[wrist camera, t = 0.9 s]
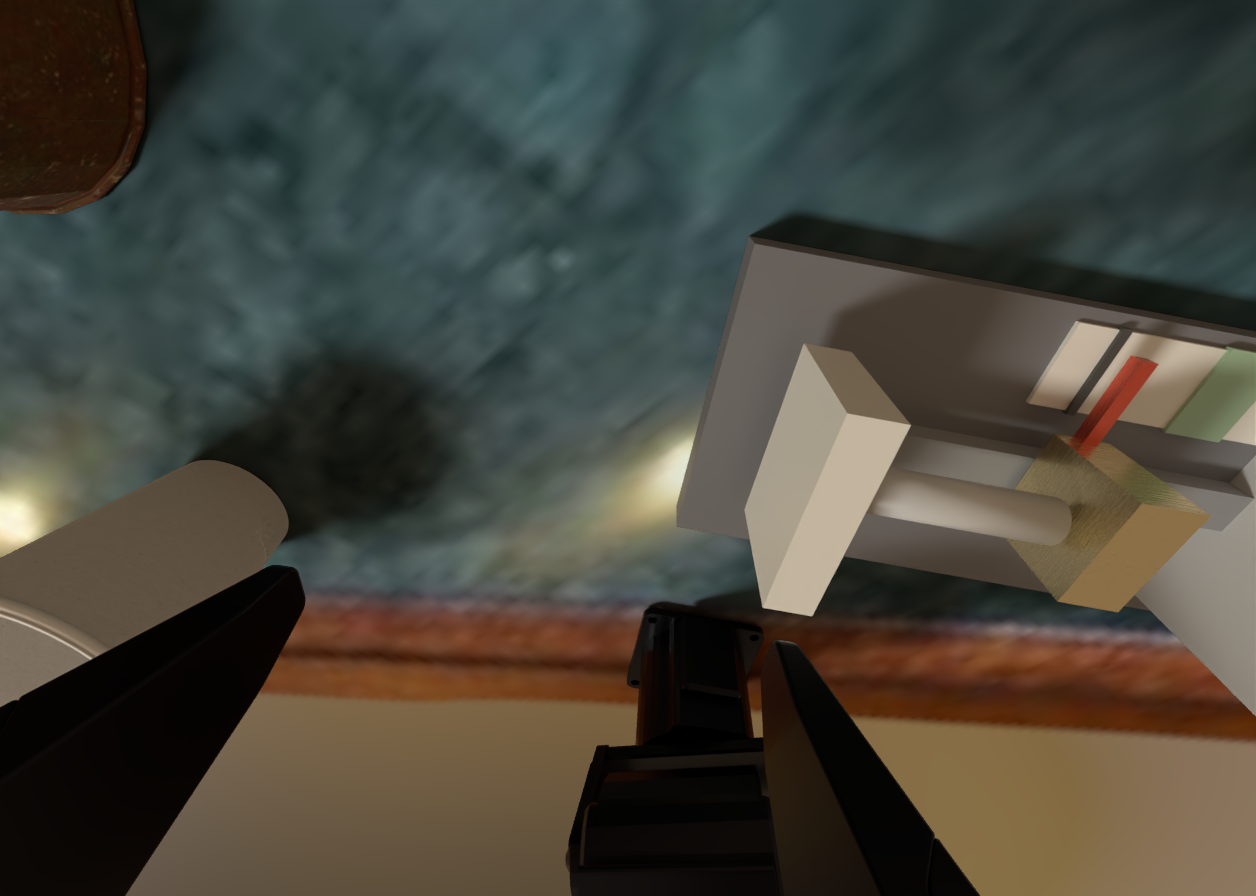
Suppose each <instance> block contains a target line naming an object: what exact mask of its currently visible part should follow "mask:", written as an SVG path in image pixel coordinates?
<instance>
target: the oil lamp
mask: <svg viewBox="0 0 1256 896" xmlns="http://www.w3.org/2000/svg"><path fill="white" fill-rule="evenodd" d="M146 82H147V68H146V63H145V57H144V52H143V47H142V42H141V37H140V32H139V27H138V22H137V17H136V12H135V7H134V1H133V0H0V211H2V210H5V211H9V212H12V213H16V214H54V213H66V212H69V211H71V210H74V209H77V208H79V207H82V206H84V205H87V204H89V203H92V202H94V201H97V200H100V199H102V198H103V197H104V196H105V194H106V193H107V192H108V191H109V190H110V189H111V188H112V187H113V186H114V185H115V184H116V183H117V182H118V181H119V180H120V179H121V178H122V177H123V176H124V174H125V173H126V172H127V171H128V170H129V168H130V166H131V163H132V160H133V157H134V155H135V152H136V149H137V146H138V144H139V141H140V138H141V135H142V133H143V130H144V127H145V110H146Z"/></svg>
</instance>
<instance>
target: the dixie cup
mask: <svg viewBox="0 0 1256 896" xmlns="http://www.w3.org/2000/svg"><path fill="white" fill-rule="evenodd" d="M288 527H289V521H288V515H287V512H286V510H285V507H284V505H283V504H282V502H281V500H280V499H279V498H278V496H277V495H276V494H275V493H274V492H273V490H272V489H271V488H270V487H269V486H267V485H266V484H265V483H264V482H263V481H261V480H260V479H259V478H257V477H256V476H254V475H253V474H251V473H249V472H248V471H246V470H244V469H242V468H240V467H237V466H235V465H232V464H229V463H225V462H221V461H215V460H200V461H195V462H192V463H189V464H187V465H185V466H183V467H181V468H179V469H177V470H175V471H173V472H171V473H169V474H167V475H165V476H163V477H161V478H159V479H157V480H155V481H153V482H151V483H149V484H147V485H145V486H143V487H141V488H139V489H137V490H135V491H133V492H131V493H129V494H127V495H125V496H123V497H121V498H119V499H117V500H115V501H113V502H111V503H109V504H107V505H105V506H103V507H101V508H99V509H97V510H95V511H93V512H91V513H89V514H87V515H85V516H83V517H81V518H79V519H77V520H75V521H73V522H71V523H69V524H67V525H65V526H63V527H61V528H59V529H57V530H55V531H53V532H51V533H49V534H47V535H45V536H43V537H41V538H39V539H37V540H35V541H33V542H31V543H29V544H27V545H25V546H23V547H21V548H19V549H17V550H15V551H13V552H11V553H9V554H7V555H5V556H3V557H1V558H0V707H1V706H3V705H5V704H7V703H9V702H11V701H13V700H19V698H20V697H21V696H22V695H24V694H26V693H28V692H30V691H32V690H34V689H36V688H37V687H39V686H41V685H43V684H45V683H47V682H49V681H51V680H53V679H55V678H57V677H58V676H60V675H62V674H64V673H66V672H68V671H70V670H72V669H74V668H76V667H78V666H79V665H81V664H83V663H85V662H87V661H89V660H91V659H93V658H95V657H97V656H98V655H100V654H102V653H104V652H106V651H108V650H110V649H112V648H114V647H116V646H118V645H119V644H121V643H123V642H125V641H127V640H129V639H131V638H133V637H135V636H137V635H138V634H140V633H142V632H144V631H146V630H148V629H150V628H152V627H154V626H156V625H158V624H159V623H161V622H163V621H165V620H167V619H169V618H171V617H173V616H175V615H177V614H178V613H180V612H182V611H184V610H186V609H188V608H190V607H192V606H194V605H196V604H198V603H199V602H201V601H203V600H205V599H207V598H209V597H211V596H213V595H215V594H217V593H218V592H220V591H222V590H224V589H226V588H228V587H230V586H232V585H234V584H236V583H238V582H239V581H241V580H243V579H245V578H247V577H249V576H251V575H253V574H255V573H257V572H258V571H260V570H261V569H262V567H263V566H264V565H265V563H266V562H267V561H268V559H269V558H270V557H271V555H272V554H273V552H274V551H275V550H276V548H277V547H278V546H279V544H280V543H281V541H282V540H283V539H284V537H285V536H286V534H287V531H288Z"/></svg>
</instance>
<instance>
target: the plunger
mask: <svg viewBox="0 0 1256 896" xmlns="http://www.w3.org/2000/svg"><path fill="white" fill-rule="evenodd" d="M910 426H911V424H910V423H909V422H908V421H907V419H906V418H905V417H904V416H903V415H902V413H901V412H900V411H899V410H898V408H897V407H896V406H895V405H894V403H893V402H892V401H891V400H890V398H889V397H888V396H887V395H886V394H885V392H884V391H883V390H882V389H881V387H880V386H879V385H878V384H877V382H876V381H875V380H874V379H873V378H872V376H871V375H870V374H869V373H868V371H867V370H866V369H865V368H864V366H863V365H862V364H861V363H860V362H859V360H858V359H857V358H856V357H855V355H854V354H853V353H852V352H849V351H844V350H838V349H833V348H827V347H822V346H817V345H811V344H806V343H804V344H803V347H802V350H801V353H800V356H799V358H798V361H797V364H796V367H795V370H794V372H793V375H792V378H791V381H790V383H789V386H788V389H787V392H786V395H785V397H784V400H783V403H782V406H781V409H780V411H779V414H778V417H777V420H776V423H775V425H774V428H773V431H772V434H771V437H770V439H769V442H768V445H767V448H766V451H765V453H764V456H763V459H762V462H761V465H760V467H759V470H758V473H757V476H756V479H755V481H754V484H753V487H752V490H751V493H750V495H749V498H748V501H747V504H746V507H745V509H744V510H745V515H746V521H747V526H748V532H749V537H750V542H751V548H752V553H753V559H754V564H755V570H756V575H757V580H758V586H759V591H760V597H761V602H762V607H763V608H767V609H773V610H778V611H784V612H790V613H796V614H801V615H807V616H813V614H814V612H815V610H816V608H817V606H818V604H819V602H820V600H821V599H822V597H823V595H824V593H825V591H826V589H827V587H828V585H829V583H830V581H831V579H832V577H833V575H834V573H835V571H836V570H837V568H838V566H839V564H840V562H841V560H842V558H843V556H844V554H845V552H846V550H847V548H848V546H849V544H850V542H851V541H852V539H853V537H854V535H855V533H856V531H857V529H858V527H859V525H860V523H861V521H862V519H863V517H864V515H865V513H868V514H874V515H879V516H885V517H891V518H896V519H902V520H907V521H913V522H918V523H924V524H930V525H935V526H941V527H946V528H952V529H957V530H963V531H969V532H974V533H980V534H985V535H991V536H996V537H1002V538H1008V539H1013V540H1019V541H1024V542H1030V543H1036V544H1041V545H1047V546H1052V545H1056V544H1058V543H1060V542H1061V541H1063V540H1064V539H1065V538H1066V536H1067V535H1068V533H1069V531H1070V528H1071V524H1072V515H1071V511H1070V509H1069V507H1068V505H1067V504H1066V503H1065V501H1063V500H1062V499H1060V498H1058V497H1054V496H1048V495H1043V494H1037V493H1032V492H1026V491H1020V490H1015V489H1009V488H1004V487H998V486H993V485H987V484H982V483H976V482H971V481H965V480H960V479H954V478H949V477H943V476H938V475H932V474H927V473H921V472H916V471H910V470H905V469H899V468H894V467H890V465H891V463H892V461H893V459H894V457H895V455H896V453H897V451H898V450H899V448H900V446H901V444H902V442H903V440H904V438H905V436H906V434H907V432H908V430H909V428H910Z"/></svg>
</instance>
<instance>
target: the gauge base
mask: <svg viewBox="0 0 1256 896" xmlns="http://www.w3.org/2000/svg"><path fill="white" fill-rule="evenodd" d="M804 343H806V344H811V345H817V346H822V347H827V348H833V349H838V350H844V351H849V352H852V353H853V354H854V355H855V357H856V358H857V359H858V360H859V362H860V363H861V364H862V365H863V366H864V368H865V369H866V370H867V371H868V373H869V374H870V375H871V376H872V378H873V379H874V380H875V381H876V382H877V384H878V385H879V386H880V387H881V389H882V390H883V391H884V392H885V394H886V395H887V396H888V397H889V398H890V400H891V401H892V402H893V403H894V405H895V406H896V407H897V408H898V410H899V411H900V412H901V413H902V415H903V416H904V417H905V418H906V419H907V421H908V422H909V423H910V424H911V426H910V428H909V430H908V432H907V434H906V436H905V438H904V440H903V442H902V444H901V446H900V448H899V450H898V451H897V453H896V455H895V457H894V459H893V461H892V463H891V465H890V467H894V468H899V469H905V470H910V471H916V472H921V473H927V474H932V475H938V476H943V477H949V478H954V479H960V480H965V481H971V482H976V483H982V484H987V485H993V486H998V487H1004V488H1009V489H1015V488H1016V486H1017V485H1018V483H1019V482H1020V480H1021V479H1022V477H1023V476H1024V475H1025V473H1026V472H1027V470H1028V469H1029V467H1030V466H1031V464H1032V463H1033V461H1034V460H1035V459H1036V457H1037V456H1038V454H1039V453H1040V451H1041V450H1042V448H1043V447H1044V445H1045V444H1046V443H1047V441H1048V440H1049V438H1050V437H1051V435H1052V434H1053V433H1056V434H1061V435H1067V436H1072V437H1074V434H1075V433H1076V432H1077V430H1078V429H1079V427H1080V426H1081V425H1082V423H1083V422H1084V420H1085V419H1086V418H1087V416H1088V415H1089V413H1090V412H1091V411H1092V409H1093V408H1094V406H1095V405H1096V404H1097V402H1098V401H1099V399H1100V398H1101V397H1102V395H1103V394H1104V392H1105V391H1106V390H1107V388H1108V387H1109V385H1110V384H1111V383H1112V381H1113V380H1114V378H1115V377H1116V376H1117V374H1118V373H1119V371H1120V370H1121V369H1122V367H1123V366H1124V364H1125V363H1126V362H1127V360H1128V359H1129V357H1130V356H1131V355H1132V356H1137V357H1142V358H1147V359H1149V360H1151V361H1153V362H1155V363H1157V364H1159V365H1158V366H1157V367H1156V369H1155V370H1154V371H1153V373H1152V374H1151V375H1150V377H1149V378H1148V379H1147V381H1146V382H1145V383H1144V385H1143V386H1142V387H1141V389H1140V390H1139V391H1138V393H1137V394H1136V395H1135V397H1134V398H1133V399H1132V401H1131V402H1130V403H1129V405H1128V406H1127V407H1126V409H1125V410H1124V411H1123V413H1122V414H1121V415H1120V417H1119V418H1118V419H1117V421H1116V422H1115V423H1114V425H1113V426H1112V427H1111V429H1110V430H1109V431H1108V433H1107V434H1106V435H1105V437H1104V438H1103V439H1102V441H1101V442H1105V443H1109V444H1111V445H1112V446H1114V447H1115V448H1117V449H1118V450H1119V451H1121V452H1122V453H1124V454H1125V455H1126V456H1128V457H1129V458H1131V459H1132V460H1133V461H1135V462H1136V463H1138V464H1139V465H1140V466H1142V467H1143V468H1145V469H1146V470H1147V471H1149V472H1150V473H1152V474H1153V475H1154V476H1156V477H1157V478H1159V479H1160V480H1161V481H1163V482H1164V483H1166V484H1167V485H1169V486H1170V487H1171V488H1173V489H1174V490H1176V491H1177V492H1178V493H1180V494H1181V495H1183V496H1184V497H1185V498H1187V499H1188V500H1190V501H1191V502H1192V503H1194V504H1195V505H1197V506H1198V507H1199V508H1201V509H1202V510H1204V511H1205V512H1206V513H1208V514H1209V515H1211V517H1210V518H1209V519H1208V520H1207V521H1206V522H1205V523H1204V524H1203V525H1202V526H1201V527H1200V528H1199V529H1198V530H1197V531H1196V532H1195V533H1194V534H1193V535H1192V537H1191V538H1190V539H1189V540H1188V541H1187V542H1186V543H1185V544H1184V545H1183V546H1182V547H1181V548H1180V549H1179V550H1178V551H1177V552H1176V553H1175V554H1174V555H1173V556H1172V557H1171V558H1170V559H1169V560H1168V561H1167V562H1166V563H1165V564H1164V565H1163V566H1162V567H1161V568H1160V570H1159V571H1158V572H1157V573H1156V574H1155V575H1154V576H1153V577H1152V578H1151V579H1150V580H1149V581H1148V582H1147V583H1146V584H1145V585H1144V586H1143V587H1142V588H1141V589H1140V590H1139V591H1138V592H1137V593H1136V594H1135V595H1134V596H1133V597H1132V598H1131V599H1130V600H1129V601H1128V602H1127V604H1126V605H1125V606H1126V607H1132V608H1137V609H1143V610H1149V611H1151V612H1152V613H1153V614H1154V615H1155V616H1156V617H1157V618H1158V619H1159V620H1160V621H1161V622H1162V623H1163V624H1164V625H1165V626H1166V627H1167V628H1168V629H1169V630H1170V631H1171V632H1172V633H1173V634H1174V635H1175V636H1176V637H1177V638H1178V639H1179V640H1180V641H1181V642H1182V643H1183V644H1184V645H1185V646H1186V647H1187V648H1188V649H1189V650H1190V651H1191V652H1192V653H1193V654H1194V655H1195V656H1196V657H1197V658H1198V659H1199V660H1200V661H1201V662H1202V663H1203V664H1204V665H1205V666H1206V667H1207V668H1208V669H1209V670H1210V671H1211V672H1212V673H1213V674H1214V675H1215V676H1216V677H1217V678H1218V679H1219V680H1220V681H1221V682H1222V683H1223V684H1224V685H1225V686H1226V687H1227V688H1228V689H1229V690H1230V691H1231V692H1232V693H1233V694H1234V695H1235V696H1236V697H1237V698H1238V699H1239V700H1240V701H1241V702H1242V703H1243V704H1244V705H1245V706H1246V707H1247V708H1248V709H1249V710H1250V711H1251V712H1252V713H1253V714H1254V715H1255V716H1256V331H1251V330H1246V329H1241V328H1235V327H1230V326H1225V325H1220V324H1214V323H1209V322H1204V321H1198V320H1193V319H1188V318H1182V317H1177V316H1172V315H1166V314H1161V313H1156V312H1151V311H1145V310H1140V309H1135V308H1129V307H1124V306H1119V305H1113V304H1108V303H1103V302H1097V301H1092V300H1087V299H1081V298H1076V297H1071V296H1066V295H1060V294H1055V293H1050V292H1044V291H1039V290H1034V289H1028V288H1023V287H1018V286H1012V285H1007V284H1002V283H997V282H991V281H986V280H981V279H975V278H970V277H965V276H959V275H954V274H949V273H943V272H938V271H933V270H927V269H922V268H917V267H912V266H906V265H901V264H896V263H890V262H885V261H880V260H874V259H869V258H864V257H858V256H853V255H848V254H843V253H837V252H832V251H827V250H821V249H816V248H811V247H805V246H800V245H795V244H789V243H784V242H779V241H773V240H768V239H763V238H758V237H752V236H749V238H748V242H747V245H746V249H745V253H744V257H743V260H742V264H741V268H740V272H739V275H738V279H737V283H736V286H735V290H734V294H733V298H732V301H731V305H730V309H729V313H728V316H727V320H726V324H725V327H724V331H723V335H722V339H721V342H720V346H719V350H718V354H717V357H716V361H715V365H714V368H713V372H712V376H711V380H710V383H709V387H708V391H707V395H706V398H705V402H704V406H703V409H702V413H701V417H700V421H699V424H698V428H697V432H696V436H695V439H694V443H693V447H692V450H691V454H690V458H689V462H688V465H687V469H686V473H685V477H684V480H683V484H682V488H681V491H680V495H679V499H678V503H677V527H682V528H687V529H693V530H699V531H704V532H710V533H715V534H721V535H727V536H732V537H738V538H744V539H749V540H750V537H749V532H748V526H747V521H746V515H745V510H744V509H745V507H746V504H747V501H748V498H749V495H750V493H751V490H752V487H753V484H754V481H755V479H756V476H757V473H758V470H759V467H760V465H761V462H762V459H763V456H764V453H765V451H766V448H767V445H768V442H769V439H770V437H771V434H772V431H773V428H774V425H775V423H776V420H777V417H778V414H779V411H780V409H781V406H782V403H783V400H784V397H785V395H786V392H787V389H788V386H789V383H790V381H791V378H792V375H793V372H794V370H795V367H796V364H797V361H798V358H799V356H800V353H801V350H802V347H803V344H804ZM844 556H845V557H850V558H856V559H862V560H867V561H873V562H879V563H884V564H890V565H895V566H901V567H907V568H912V569H918V570H924V571H929V572H935V573H940V574H946V575H952V576H957V577H963V578H969V579H974V580H980V581H986V582H991V583H997V584H1002V585H1008V586H1014V587H1019V588H1025V589H1031V590H1036V591H1042V592H1047V593H1050V592H1049V591H1048V589H1047V588H1046V587H1045V586H1044V585H1043V583H1042V582H1041V581H1040V580H1039V578H1038V577H1037V576H1036V575H1035V574H1034V572H1033V571H1032V570H1031V569H1030V567H1029V566H1028V565H1027V564H1026V563H1025V561H1024V560H1023V559H1022V558H1021V556H1020V555H1019V554H1018V553H1017V552H1016V550H1015V549H1014V548H1013V547H1012V545H1011V544H1010V543H1009V542H1008V541H1007V539H1006V538H1002V537H996V536H991V535H985V534H980V533H974V532H969V531H963V530H957V529H952V528H946V527H941V526H935V525H930V524H924V523H918V522H913V521H907V520H902V519H896V518H891V517H885V516H879V515H874V514H868V513H865V515H864V517H863V519H862V521H861V523H860V525H859V527H858V529H857V531H856V533H855V535H854V537H853V539H852V541H851V542H850V544H849V546H848V548H847V550H846V552H845V554H844Z"/></svg>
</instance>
